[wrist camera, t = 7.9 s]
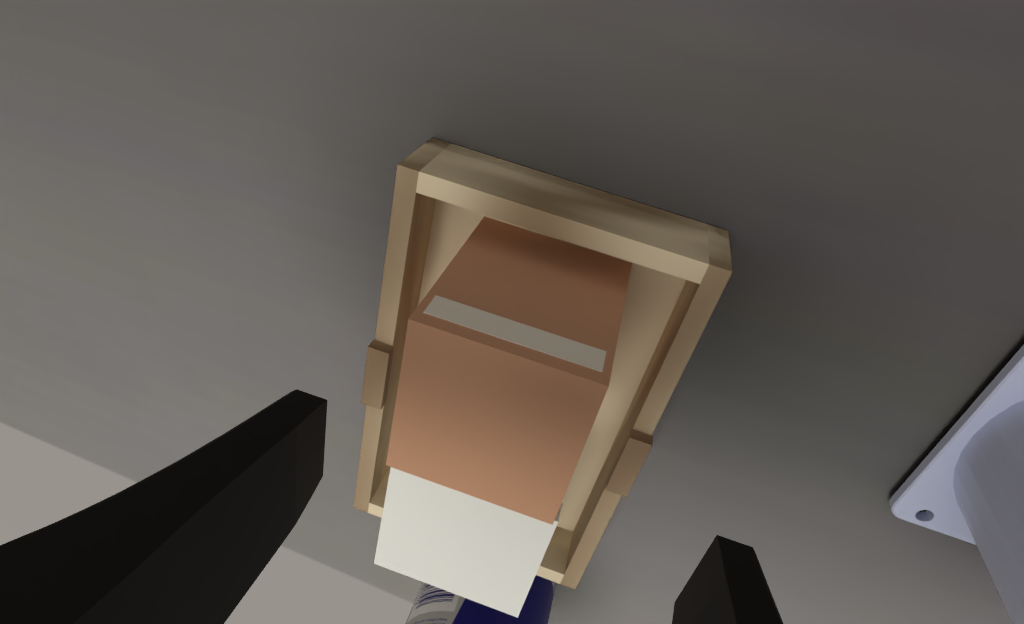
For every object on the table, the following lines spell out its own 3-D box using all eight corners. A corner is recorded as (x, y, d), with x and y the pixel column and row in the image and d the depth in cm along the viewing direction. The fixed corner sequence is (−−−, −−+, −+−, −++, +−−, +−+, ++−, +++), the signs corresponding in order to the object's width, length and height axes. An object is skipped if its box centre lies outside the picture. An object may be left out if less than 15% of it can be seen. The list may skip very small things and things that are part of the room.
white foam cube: (581, 421, 22) (558, 521, 18) (544, 514, 25) (517, 617, 21) (442, 372, 22) (391, 461, 19) (421, 469, 25) (374, 563, 22)
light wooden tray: (729, 231, 18) (735, 280, 15) (586, 534, 26) (574, 599, 23) (430, 137, 19) (389, 168, 16) (380, 459, 26) (347, 514, 24)
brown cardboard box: (586, 384, 21) (552, 525, 16) (457, 341, 21) (386, 465, 16) (632, 262, 18) (609, 385, 13) (484, 215, 19) (408, 318, 14)
